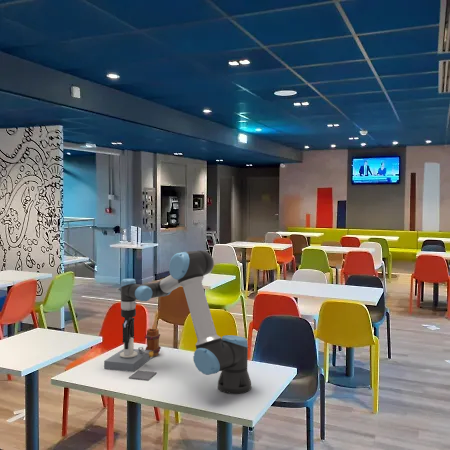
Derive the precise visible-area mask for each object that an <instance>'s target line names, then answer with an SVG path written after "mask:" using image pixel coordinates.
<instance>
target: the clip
mask: <svg viewBox="0 0 450 450" xmlns="http://www.w3.org/2000/svg"><path fill="white" fill-rule="evenodd" d="M138 351H142V352H143V353H144V354H145V355H147V356H148V357H149V358H150V360H151V359H153V357H154V356H153V351H149V353H147V352H146V351H145V349H144V347H143V346H141V347H138Z"/></svg>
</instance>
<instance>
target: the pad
mask: <svg viewBox="0 0 450 450" xmlns="http://www.w3.org/2000/svg"><path fill="white" fill-rule="evenodd" d="M156 374H157V371H147V370H140V369H139V370H138V369H137V370H135V371H134V373H132V374H131V375H129V377H128V379H130V380H139V381H150V380H151V379H152V378H153V377H154V376H155V375H156Z"/></svg>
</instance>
